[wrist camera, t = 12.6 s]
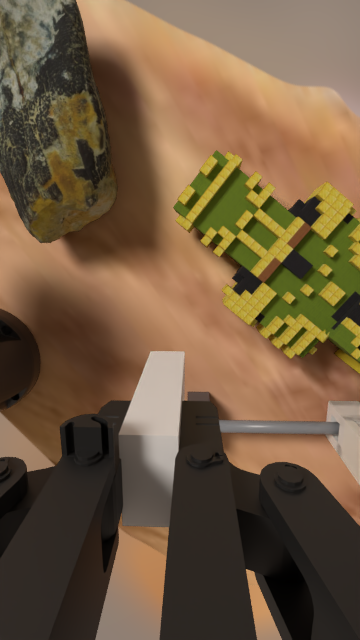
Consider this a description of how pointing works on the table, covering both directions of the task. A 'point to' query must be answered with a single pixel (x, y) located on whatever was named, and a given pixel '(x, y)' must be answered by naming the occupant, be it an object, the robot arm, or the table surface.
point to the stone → (51, 120)
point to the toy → (282, 257)
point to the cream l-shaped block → (346, 433)
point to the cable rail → (270, 423)
